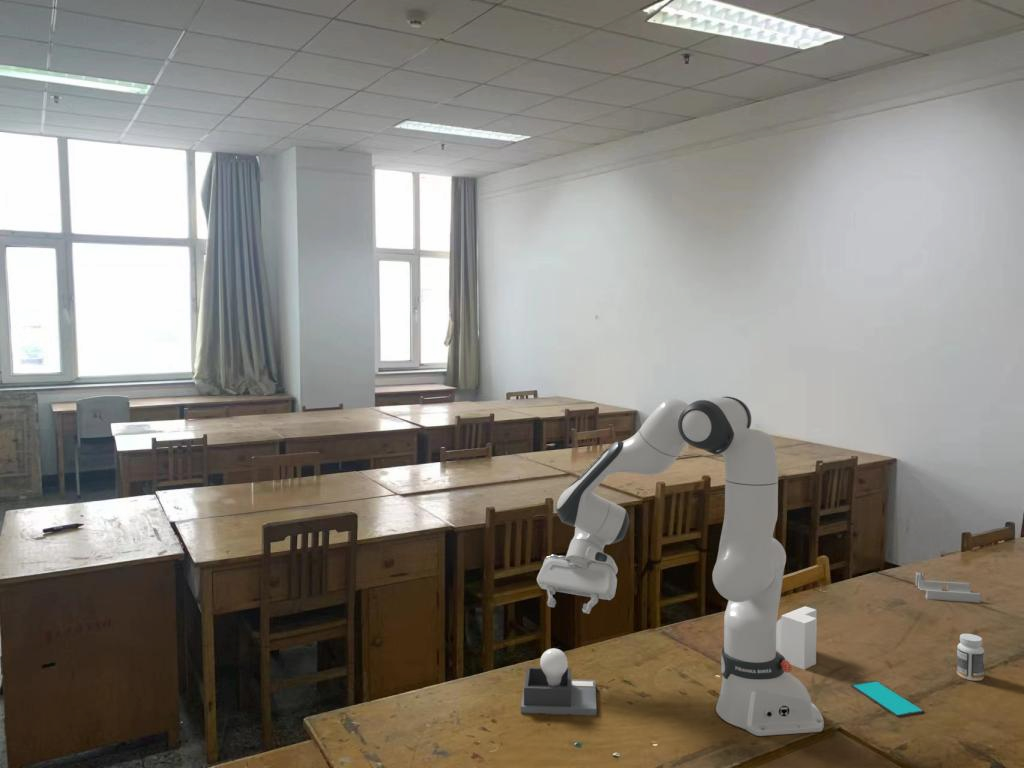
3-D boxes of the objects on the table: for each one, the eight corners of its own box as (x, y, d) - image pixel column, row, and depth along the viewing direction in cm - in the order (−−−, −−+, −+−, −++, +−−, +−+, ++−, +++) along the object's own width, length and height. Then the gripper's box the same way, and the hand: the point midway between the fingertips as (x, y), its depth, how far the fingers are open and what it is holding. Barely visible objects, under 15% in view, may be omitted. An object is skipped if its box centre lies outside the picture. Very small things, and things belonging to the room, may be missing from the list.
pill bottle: (981, 673, 184) (983, 634, 183) (985, 683, 179) (986, 643, 178) (955, 669, 186) (956, 630, 186) (958, 679, 181) (959, 639, 180)
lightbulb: (565, 703, 168) (565, 656, 168) (538, 701, 170) (537, 654, 169) (569, 690, 174) (569, 645, 174) (543, 688, 176) (542, 642, 175)
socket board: (595, 685, 180) (594, 663, 179) (596, 715, 166) (596, 691, 165) (525, 683, 181) (524, 661, 181) (520, 712, 167) (520, 689, 167)
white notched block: (804, 669, 187) (804, 623, 186) (765, 654, 196) (765, 610, 196) (827, 658, 193) (828, 613, 193) (788, 644, 203) (789, 601, 202)
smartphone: (876, 680, 180) (924, 710, 165) (876, 683, 180) (924, 714, 165) (850, 684, 178) (897, 715, 164) (850, 687, 178) (896, 719, 164)
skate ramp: (927, 600, 235) (927, 584, 235) (915, 586, 248) (915, 571, 248) (980, 604, 231) (980, 588, 231) (965, 589, 244) (966, 574, 244)
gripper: (542, 547, 192) (525, 596, 184) (617, 557, 182) (602, 610, 174) (550, 559, 196) (534, 608, 188) (623, 570, 186) (609, 622, 178)
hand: (567, 609), depth 181 cm, fingers open, 8 cm apart
